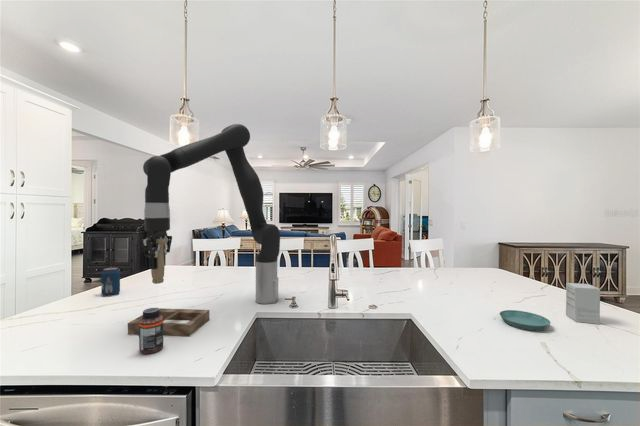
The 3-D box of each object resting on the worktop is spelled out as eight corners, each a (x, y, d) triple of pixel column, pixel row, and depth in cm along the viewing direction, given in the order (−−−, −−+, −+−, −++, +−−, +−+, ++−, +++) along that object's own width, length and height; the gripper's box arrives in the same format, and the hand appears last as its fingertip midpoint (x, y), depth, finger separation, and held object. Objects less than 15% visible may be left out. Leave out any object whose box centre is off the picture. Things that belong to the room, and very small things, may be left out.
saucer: (489, 320, 108) (490, 313, 108) (516, 314, 113) (516, 308, 113) (532, 336, 94) (533, 328, 94) (560, 329, 100) (560, 321, 100)
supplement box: (589, 317, 111) (589, 283, 110) (600, 324, 104) (601, 288, 103) (565, 315, 113) (565, 282, 113) (574, 322, 106) (575, 286, 106)
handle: (162, 285, 97) (161, 239, 97) (144, 284, 98) (143, 239, 97) (171, 281, 102) (170, 237, 101) (153, 280, 102) (153, 237, 102)
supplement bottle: (145, 345, 86) (145, 306, 86) (167, 344, 86) (167, 305, 86) (134, 355, 80) (134, 313, 80) (157, 354, 80) (157, 313, 80)
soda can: (116, 291, 140) (116, 266, 140) (122, 294, 136) (122, 268, 136) (99, 295, 135) (98, 268, 134) (104, 297, 131) (104, 270, 130)
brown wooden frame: (209, 319, 106) (209, 308, 106) (189, 336, 92) (189, 324, 92) (155, 317, 107) (155, 307, 107) (127, 334, 93) (127, 322, 93)
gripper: (155, 217, 92) (155, 272, 92) (179, 216, 106) (180, 263, 106) (131, 217, 92) (132, 272, 93) (159, 216, 107) (159, 263, 107)
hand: (157, 267), depth 100 cm, fingers closed on handle, 4 cm apart
